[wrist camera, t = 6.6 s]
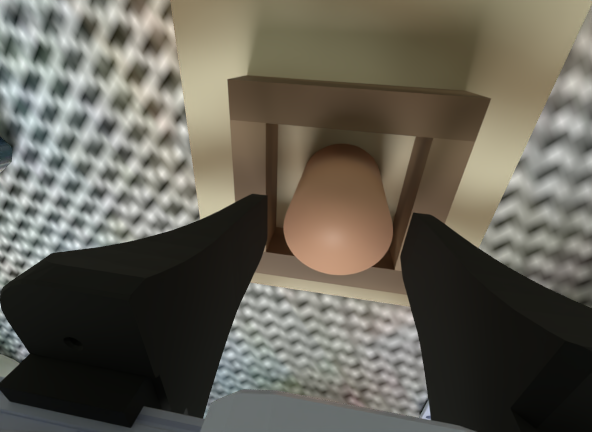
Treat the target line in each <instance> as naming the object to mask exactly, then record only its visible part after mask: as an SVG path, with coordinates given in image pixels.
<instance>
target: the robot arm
mask: <svg viewBox="0 0 592 432" xmlns="http://www.w3.org/2000/svg"><path fill="white" fill-rule="evenodd" d="M267 233H268V195H260V194H251V195H248V196H246V197H244V198H242V199H240V200H238V201H237V202H235V203H233V204H231V205H229V206H227V207H225V208H223V209H222V210H220V211H218V212H215V213H213V214H211V215H209V216H207V217H205V218H203V219H201V220H198V221H196V222H194V223H191V224H188V225H186V226H183V227H180V228H177V229H175V230H172V231H168V232H165V233H161V234H158V235H154V236H150V237H147V238H143V239H139V240H134V241H130V242H125V243H120V244H115V245H109V246H103V247H97V248H89V249H82V250H74V251H66V252H57V253H52V254H50V255H49V256H47V257H46V258H44V259H43V260H41V261H40V262H39V263H37V264H36V265H34V266H33V267H31V268H30V269H28V270H27V271H25V272H24V273H22V274H21V275H19V276H18V277H16V278H15V279H13V280H12V281H10V282H9V283H8V284H7V285H5V286H4V287H3V289H2V292H1V295H0V303H1V309H2V311H3V313H4V315H5V317H6V319H7V320H8V322H9V323H10V325H11V326H12V328H13V329H14V331H15V332H16V334H17V335H18V337H19V338H20V340H21V341H22V343H23V344H24V346H25V347H26V349H27V350H28V352H29V353H30V354H29V355H28V356H27V357H26V358H25V359H24V360H23V361H22V362H21V363H20V364H19V365H18V366H17V367H16V368H15V369H14V370H12V371H11V372H10V373H9V374H8V375H7V376H6V377H1V376H0V432H592V308H589V307H587V306H585V305H582V304H580V303H578V302H576V301H573V300H571V299H569V298H567V297H565V296H563V295H561V294H558V293H556V292H554V291H552V290H550V289H548V288H546V287H544V286H542V285H540V284H538V283H536V282H534V281H532V280H530V279H528V278H527V277H525V276H523V275H521V274H519V273H518V272H516V271H514V270H512V269H510V268H509V267H507V266H505V265H504V264H502V263H500V262H499V261H497V260H496V259H494V258H493V257H491V256H490V255H488V254H486V253H485V252H483V251H482V250H480V249H479V248H477V247H476V246H475V245H473V244H472V243H470V242H469V241H467V240H466V239H465V238H463V237H462V236H461V235H459V234H458V233H457V232H455V231H454V230H452V229H451V228H450V227H448V226H447V225H446V224H444V223H443V222H441V221H440V220H439V219H437V218H436V217H434V216H432V215H430V214H422V213H414V212H413V215H412V218H411V221H410V225H409V228H408V231H407V235H406V238H405V241H404V245H403V248H402V251H401V255H400V261H401V270H402V277H403V282H404V286H405V289H406V293H407V297H408V300H409V304H410V307H411V311H412V314H413V318H414V321H415V325H416V328H417V332H418V337H419V341H420V346H421V352H422V358H423V364H424V371H425V378H426V385H427V392H428V399H429V400H428V401H427V403H426V405H425V407H424V409H423V411H422V413H421V415H420V416H419V418H417V417H412V416H407V415H401V414H396V413H391V412H386V411H380V410H375V409H370V408H365V407H360V406H354V405H349V404H344V403H339V402H334V401H328V400H323V399H318V398H313V397H307V396H302V395H297V394H292V393H287V392H281V391H273V390H248V389H242V390H240V391H237V392H235V393H232V394H230V395H227V396H225V397H222V398H220V399H218V400H216V401H214V402H212V403H211V405H210V408H209V410H208V413H207V415H206V418H205V419H203V416H204V413H205V409H206V406H207V402H208V399H209V395H210V392H211V389H212V385H213V382H214V379H215V375H216V372H217V369H218V366H219V362H220V359H221V356H222V353H223V350H224V347H225V344H226V341H227V338H228V335H229V332H230V329H231V326H232V324H233V321H234V318H235V315H236V312H237V310H238V307H239V305H240V303H241V301H242V298H243V296H244V294H245V292H246V290H247V288H248V286H249V284H250V282H251V280H252V278H253V275H254V273H255V271H256V269H257V267H258V265H259V263H260V260H261V258H262V255H263V252H264V249H265V245H266V242H267Z"/></svg>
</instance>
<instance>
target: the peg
mask: <svg viewBox="0 0 592 432" xmlns="http://www.w3.org/2000/svg"><path fill="white" fill-rule="evenodd" d="M283 228H284V236H285V240H286V243H287V245H288V247H289V249H290V250H291V252H292V253H293V254H294V255H295V257H296V258H297V259H298V260H300V261H301V262H302V263H303V264H305V265H306V266H308V267H310V268H312V269H314V270H316V271H319V272H322V273H326V274H331V275H349V274H354V273H358V272H361V271H364V270H366V269H368V268H370V267H372V266H373V265H375V264H376V263H377V262H379V261H380V260H381V259H382V257H383V256H384V255H385V254H386V252H387V251H388V249H389V247H390V244H391V241H392V237H393V225H392V219H391V215H390V211H389V207H388V203H387V199H386V195H385V191H384V187H383V183H382V179H381V175H380V171H379V168H378V165H377V163H376V162H375V160H374V159H373V157H372V156H371V155H370V154H369V153H367V152H366V151H365V150H363V149H362V148H360V147H357V146H354V145H351V144H333V145H329V146H327V147H324V148H322V149H321V150H319V151H318V152H316V153H315V154H314V155H313V156H312V157H311V158H310V160H309V161H308V163H307V164H306V167H305V169H304V171H303V174H302V176H301V179H300V181H299V183H298V186H297V188H296V191H295V193H294V195H293V198H292V200H291V203H290V205H289V208H288V210H287V212H286V215H285V219H284V225H283Z"/></svg>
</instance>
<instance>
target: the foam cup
mask: <svg viewBox="0 0 592 432" xmlns="http://www.w3.org/2000/svg"><path fill="white" fill-rule="evenodd" d="M19 364H20V363H18V362H17V361H15V360H14V359H11V358H9V357H7V356H5V355H2V354H0V376H1V377H6V376H7V375H8V374H9V373H10V372H11V371H12V370H14V369H15V368H16V367H17V366H18V365H19Z"/></svg>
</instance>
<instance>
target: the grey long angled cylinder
mask: <svg viewBox="0 0 592 432" xmlns="http://www.w3.org/2000/svg"><path fill="white" fill-rule="evenodd" d="M11 162H12V147H11V146H10V145H9V144H8V143H7V142H6V141H5V140H3V139H2V138H1V137H0V173H1V172H2V171H3V170H4V169H5V168H6V167H7V166H8V165H9V164H10V163H11Z"/></svg>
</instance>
